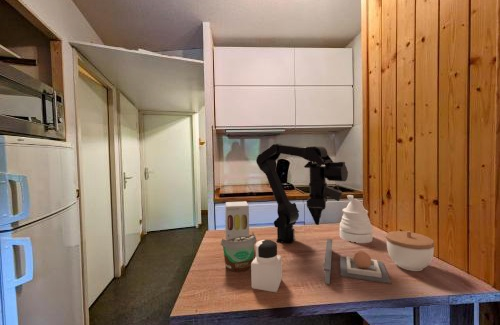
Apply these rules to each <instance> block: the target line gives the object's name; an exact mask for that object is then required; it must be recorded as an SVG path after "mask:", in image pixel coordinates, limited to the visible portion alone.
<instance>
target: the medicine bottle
mask: <svg viewBox="0 0 500 325" xmlns="http://www.w3.org/2000/svg"><path fill="white" fill-rule="evenodd" d="M282 266H283V265H282V255H280V254H278V244H277V242H275V241H274V240H271V239H261V240H259V241H256V243H255V258H253V261H252V263H251V269H250V273H251V276H250V278H251V281H250V282H251V288H252V289H255V290H260V291H265V292H270V293H271V292H272V293H277V292H278V290H279V287H280V284H281V283H282V282H281V281H282V280H283V276H282V275H283V274H282V273H283V272H282V270H283V269H282Z"/></svg>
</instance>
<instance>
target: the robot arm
mask: <svg viewBox="0 0 500 325" xmlns="http://www.w3.org/2000/svg"><path fill="white" fill-rule="evenodd" d="M281 154H282V155H287V156H288V155H289V156H295V157H299V158H302V159H304V160H306V161H307V163H306V164H305V165H304V166H303V167H304V168H306V169H309V182H308V183H309V184H308V185H309V193H308V194H309V196H308V198H307V200H306V207H307V210H309V211H308V212H309V214H310V215H311V217H312V219H313V221H314V224H315V225H316V226H319V225H320V220H321V218H322V213H323V211H324V210H325V209H326V206H327V201H328V198H330V199H333V200H335V201H337V202H340V200H341V197H342V195H343V192H342V190H341V189H340V188H339V186H337V185H333V186H332V187H331V186H328V184H327V182H326V180H327V181H332V182H346V181H347V180H348V175H349V171H348V167H347V165H346V162H345V161H335V162H334V161H333V159H332V158H331V157H330V155H329V154H328V150H327V148H326V147H325V146H304V147H303V146H296V145H288V144H282V143H273V144H272V145H271V146H270V147H269V148H267V149H266V150H263V152H261V153H259V154H258V155H257V157H256V159H255V161H256V164H257V166H258V168H259V170H261V171H262V172H263V173H264V174H265V177H266V178H267V182H268V183H269V187H270V188H271V191H272V194H273V196H274V199H275V201H276V204H277V212H276V213H277V216H278V217H277V218H276V219H275V220H274V221H273V226H274V227H275V228H276V230H277V231H276V232H277V236H276V238H277V239H276V243H286V244H293V241H295V239H296V238H295V235H296V234H295V233H296V232H295V229H294V225H296V223H297V221H298V220H299V217H300V214H299V212H300V210H299V209H298V206H297V204H296V203H295V202H291V201H290V200H289V198H288V195H287V193H286V191H285V189H284V187H283V184H282V181H281V179H280V177H279V175H278V172H277V160H278V159H279V158H280V156H281Z"/></svg>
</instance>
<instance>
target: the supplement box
mask: <svg viewBox="0 0 500 325" xmlns="http://www.w3.org/2000/svg"><path fill="white" fill-rule="evenodd" d="M249 209H250V207H249V204H248V202H247V201H246V200H245V201H226V202H225V213H224V214H225V217H224V218H225V220H224V222H225V224H224V225H225V232H224V233H225V240H230V239H233V238H236V237H241V236H249V235H250V210H249Z"/></svg>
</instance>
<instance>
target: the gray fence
mask: <svg viewBox="0 0 500 325" xmlns="http://www.w3.org/2000/svg"><path fill="white" fill-rule="evenodd" d="M324 254H325V255H324V263H323V271H324V284H326V285H328V286H329V285H330V284H331V283H330V282H331V270H332V254H333V239H332V238H327V239H326V247H325V253H324Z"/></svg>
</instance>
